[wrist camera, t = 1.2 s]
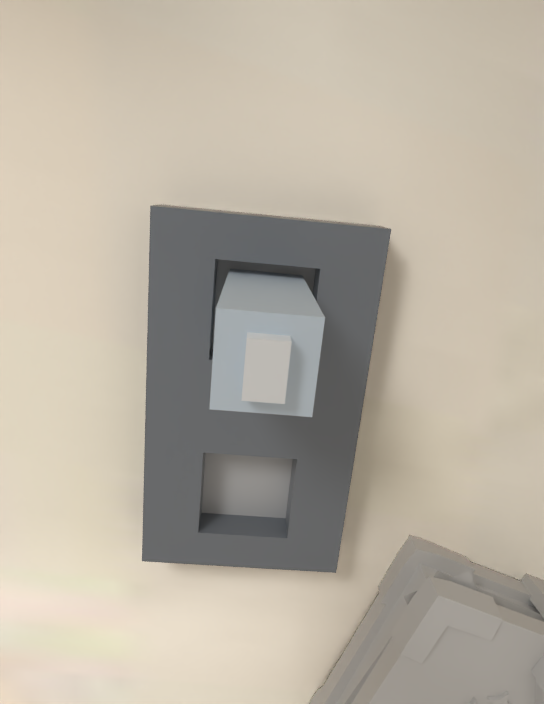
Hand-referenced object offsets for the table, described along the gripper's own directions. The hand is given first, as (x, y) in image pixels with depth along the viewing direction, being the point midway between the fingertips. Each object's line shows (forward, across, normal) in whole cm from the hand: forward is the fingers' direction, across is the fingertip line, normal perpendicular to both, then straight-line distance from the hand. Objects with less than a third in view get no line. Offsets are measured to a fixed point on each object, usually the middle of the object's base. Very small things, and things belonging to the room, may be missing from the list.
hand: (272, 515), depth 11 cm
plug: (+19, 0, 0) cm, 19 cm away
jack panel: (+20, 0, -5) cm, 20 cm away
